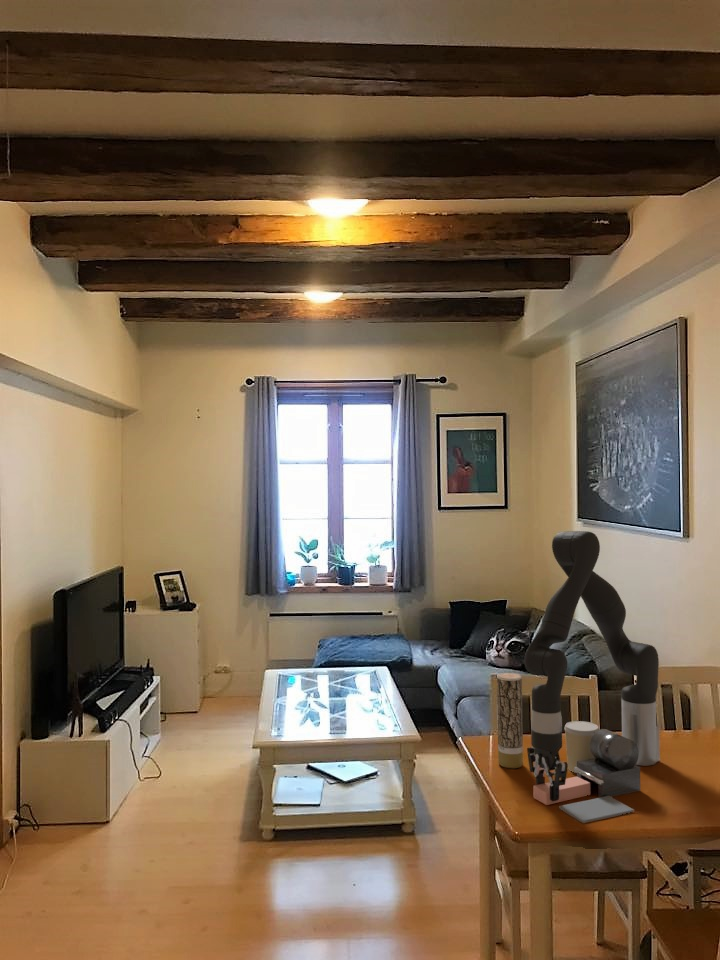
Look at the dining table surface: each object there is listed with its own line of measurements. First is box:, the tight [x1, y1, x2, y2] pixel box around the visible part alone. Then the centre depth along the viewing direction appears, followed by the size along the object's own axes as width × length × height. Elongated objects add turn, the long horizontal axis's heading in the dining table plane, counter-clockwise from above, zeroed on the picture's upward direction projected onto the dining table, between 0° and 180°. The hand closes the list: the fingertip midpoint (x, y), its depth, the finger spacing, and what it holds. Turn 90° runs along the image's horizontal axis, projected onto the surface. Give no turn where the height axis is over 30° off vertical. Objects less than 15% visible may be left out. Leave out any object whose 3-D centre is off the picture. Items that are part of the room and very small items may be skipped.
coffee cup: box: [564, 720, 600, 774], centre depth 214 cm, size 9×9×12 cm
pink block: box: [532, 775, 591, 806], centre depth 195 cm, size 14×5×3 cm, turn 116°
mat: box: [558, 796, 635, 824], centre depth 187 cm, size 15×9×1 cm, turn 112°
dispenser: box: [574, 728, 641, 798], centre depth 201 cm, size 13×10×14 cm
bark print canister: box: [496, 672, 524, 769], centre depth 218 cm, size 7×7×25 cm
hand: (547, 795), depth 193 cm, fingers closed on pink block, 5 cm apart
